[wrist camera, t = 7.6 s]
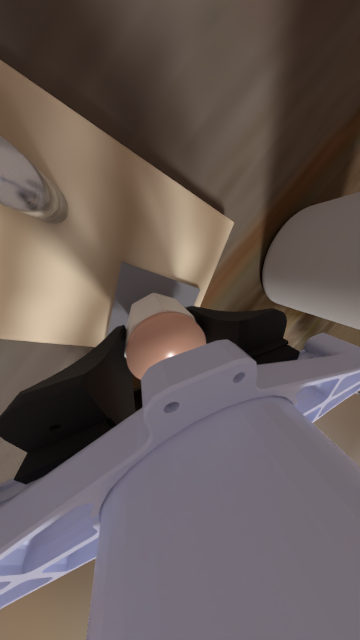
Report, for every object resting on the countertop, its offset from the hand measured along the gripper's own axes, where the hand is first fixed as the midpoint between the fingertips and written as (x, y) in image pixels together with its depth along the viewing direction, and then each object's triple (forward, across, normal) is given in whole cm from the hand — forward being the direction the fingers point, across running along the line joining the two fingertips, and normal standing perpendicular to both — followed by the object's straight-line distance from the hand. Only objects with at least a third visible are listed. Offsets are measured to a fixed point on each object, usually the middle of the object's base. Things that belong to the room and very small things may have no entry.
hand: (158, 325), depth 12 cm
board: (+4, +3, -5) cm, 7 cm away
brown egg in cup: (+1, 0, 0) cm, 1 cm away
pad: (+3, 0, 0) cm, 3 cm away
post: (+3, +5, -10) cm, 11 cm away
